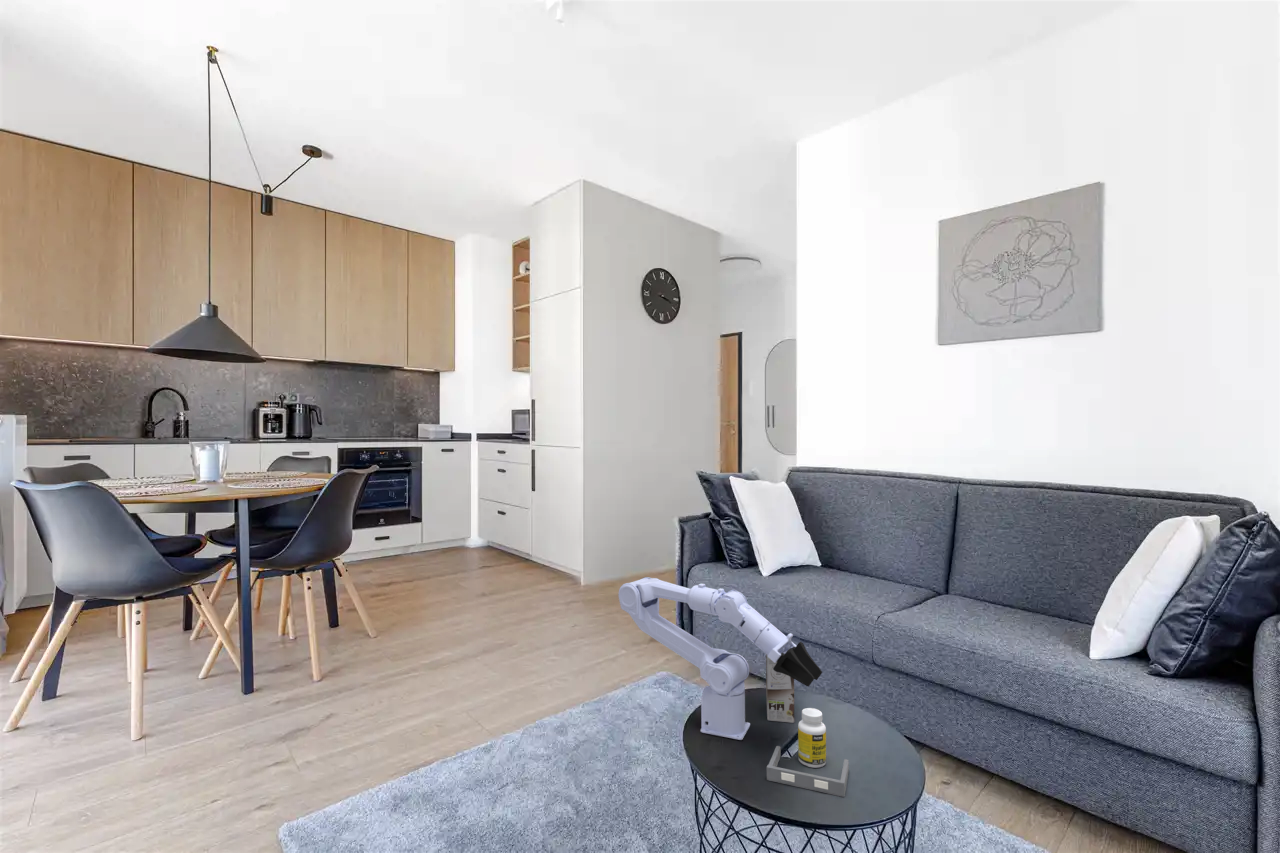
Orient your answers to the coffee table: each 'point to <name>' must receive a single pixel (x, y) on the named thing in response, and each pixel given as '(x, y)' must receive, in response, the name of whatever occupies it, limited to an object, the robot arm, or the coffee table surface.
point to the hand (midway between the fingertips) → (815, 679)
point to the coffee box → (779, 694)
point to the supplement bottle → (812, 739)
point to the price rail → (807, 777)
